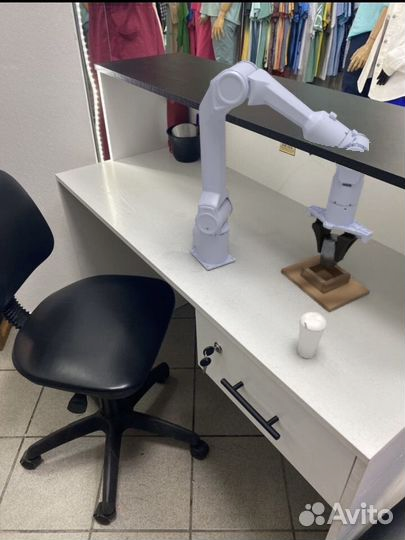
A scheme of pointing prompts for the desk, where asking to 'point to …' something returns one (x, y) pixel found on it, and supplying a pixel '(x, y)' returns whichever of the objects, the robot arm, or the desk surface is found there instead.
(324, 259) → the pin
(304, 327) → the milkshake
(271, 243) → the desk surface
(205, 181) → the robot arm
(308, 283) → the socket board
